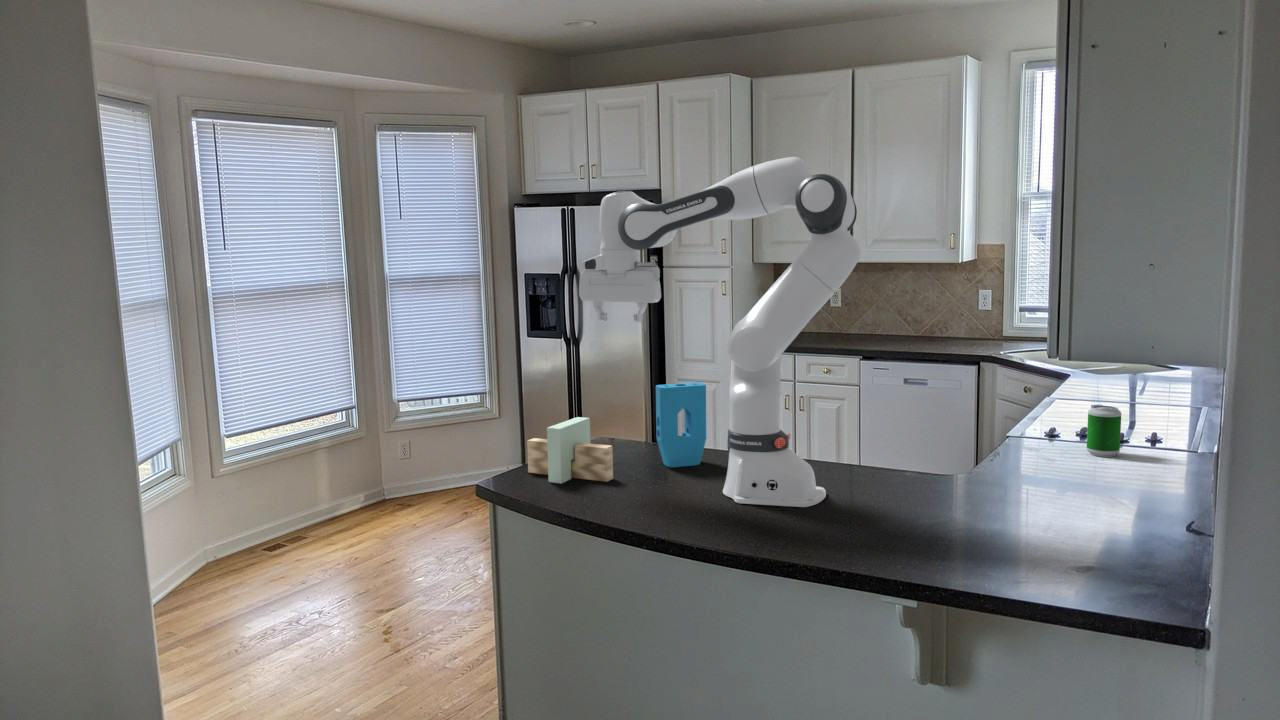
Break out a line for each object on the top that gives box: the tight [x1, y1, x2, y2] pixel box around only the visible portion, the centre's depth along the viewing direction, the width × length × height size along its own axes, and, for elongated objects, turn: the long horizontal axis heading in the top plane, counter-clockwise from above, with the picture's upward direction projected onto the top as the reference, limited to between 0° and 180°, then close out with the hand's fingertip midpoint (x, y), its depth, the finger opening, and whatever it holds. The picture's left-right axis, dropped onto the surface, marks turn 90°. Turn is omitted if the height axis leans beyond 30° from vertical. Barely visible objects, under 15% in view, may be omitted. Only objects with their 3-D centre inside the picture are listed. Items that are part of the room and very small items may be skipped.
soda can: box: [1086, 405, 1122, 458], centre depth 240 cm, size 8×8×12 cm
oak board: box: [526, 437, 614, 483], centre depth 229 cm, size 22×3×8 cm, turn 63°
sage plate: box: [546, 416, 592, 484], centre depth 228 cm, size 4×14×13 cm, turn 153°
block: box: [655, 382, 707, 468], centre depth 237 cm, size 12×5×20 cm, turn 106°
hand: (620, 321), depth 223 cm, fingers open, 8 cm apart
